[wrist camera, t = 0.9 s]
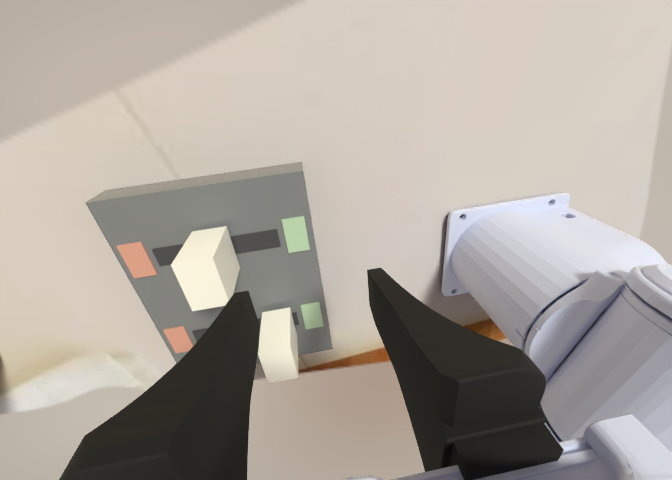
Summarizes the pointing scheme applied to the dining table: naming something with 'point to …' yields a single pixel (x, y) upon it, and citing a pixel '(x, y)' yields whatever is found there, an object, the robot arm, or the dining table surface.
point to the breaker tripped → (207, 268)
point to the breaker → (278, 346)
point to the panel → (247, 238)
